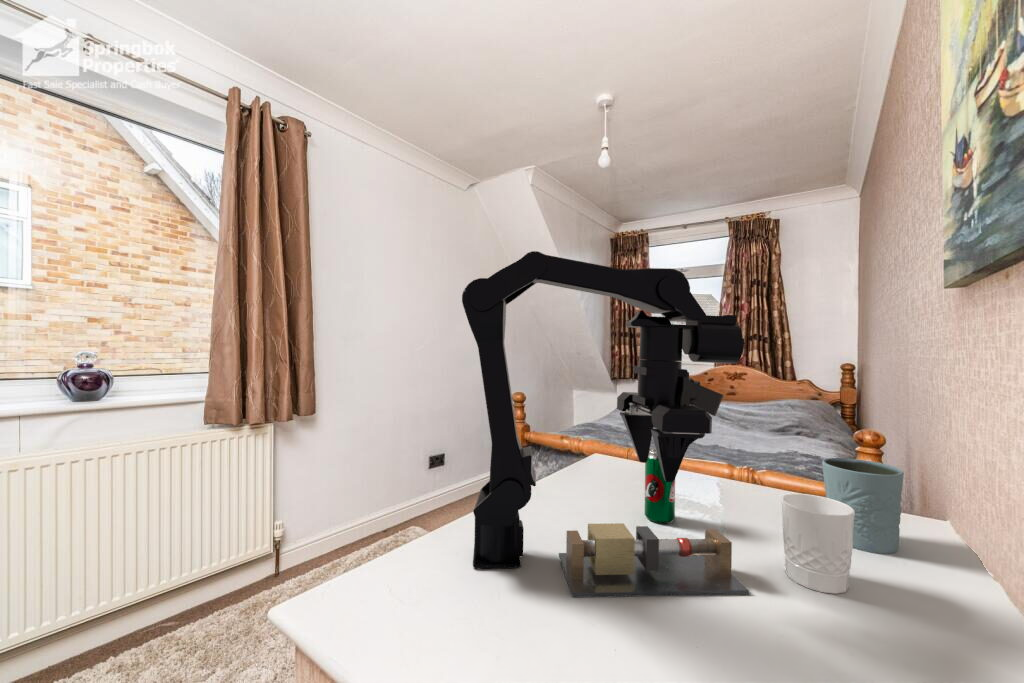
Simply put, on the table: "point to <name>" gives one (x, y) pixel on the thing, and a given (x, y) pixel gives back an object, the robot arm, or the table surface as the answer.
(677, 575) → the pipe rig
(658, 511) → the soda can
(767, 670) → the table surface
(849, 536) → the white cup
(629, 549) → the sleeve
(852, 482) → the drinking glass
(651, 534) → the dark grey square collar
